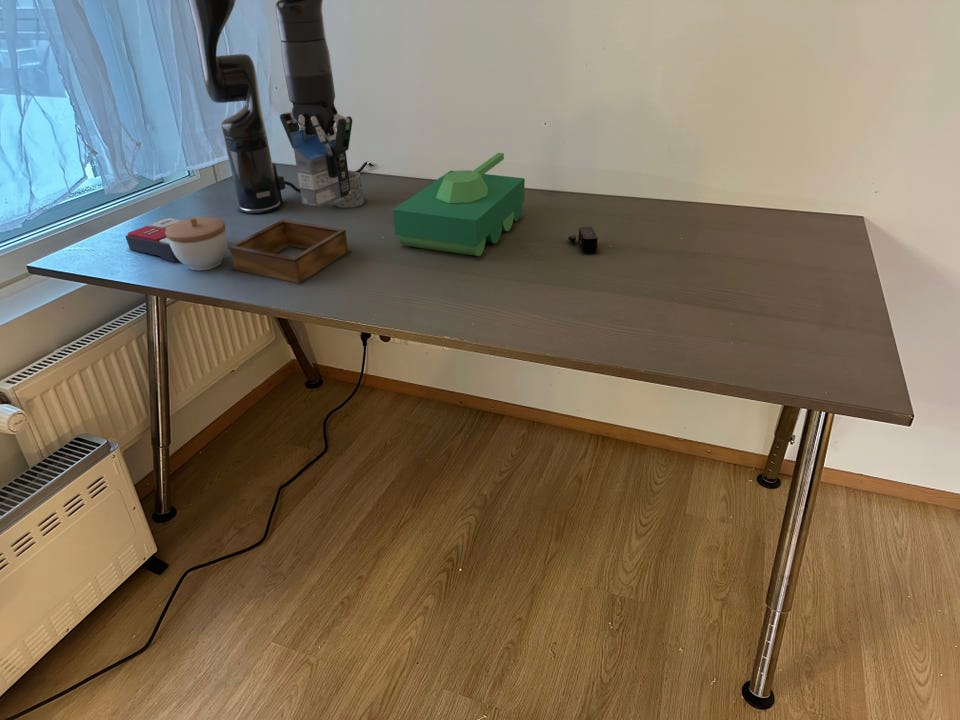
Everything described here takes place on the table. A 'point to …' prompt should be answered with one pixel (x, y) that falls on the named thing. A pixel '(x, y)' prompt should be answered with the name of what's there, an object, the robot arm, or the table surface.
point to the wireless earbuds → (586, 239)
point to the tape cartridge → (318, 172)
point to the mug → (356, 193)
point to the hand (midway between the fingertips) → (324, 174)
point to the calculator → (153, 239)
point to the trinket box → (198, 242)
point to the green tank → (461, 211)
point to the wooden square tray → (316, 239)
